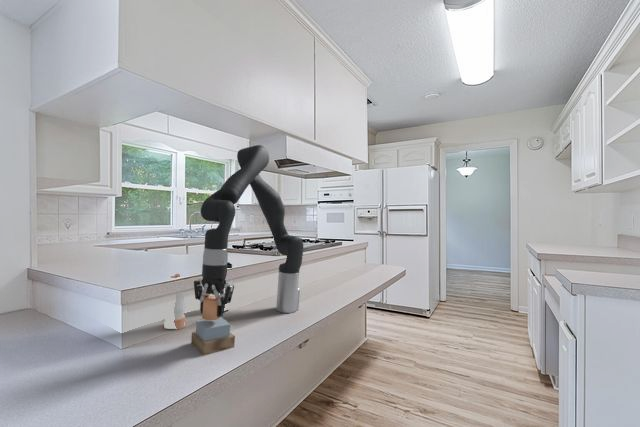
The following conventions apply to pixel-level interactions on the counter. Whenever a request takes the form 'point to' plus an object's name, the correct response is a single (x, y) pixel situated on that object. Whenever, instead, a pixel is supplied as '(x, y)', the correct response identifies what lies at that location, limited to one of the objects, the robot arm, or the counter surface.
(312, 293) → the counter surface
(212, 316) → the terracotta drum
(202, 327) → the slate top block
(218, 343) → the walnut base block
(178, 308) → the salt shaker
